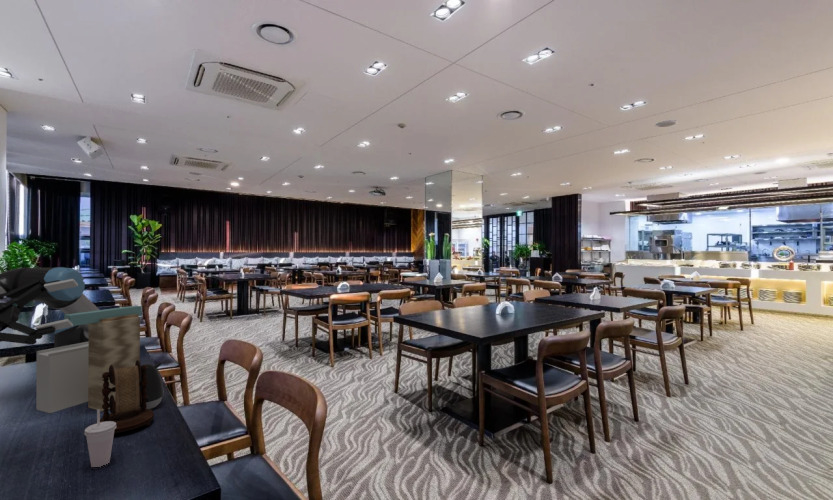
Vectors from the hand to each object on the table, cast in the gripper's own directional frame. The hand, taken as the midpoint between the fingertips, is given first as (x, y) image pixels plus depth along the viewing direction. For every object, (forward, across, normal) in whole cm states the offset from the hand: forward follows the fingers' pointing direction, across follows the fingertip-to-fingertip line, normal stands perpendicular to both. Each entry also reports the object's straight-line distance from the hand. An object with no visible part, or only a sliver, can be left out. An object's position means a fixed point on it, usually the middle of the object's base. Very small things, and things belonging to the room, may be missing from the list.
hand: (73, 301), depth 106 cm
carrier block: (-23, 0, +54) cm, 59 cm away
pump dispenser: (+2, -14, +48) cm, 50 cm away
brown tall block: (-9, -6, +52) cm, 53 cm away
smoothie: (+1, -38, +20) cm, 43 cm away
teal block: (-5, +14, +30) cm, 34 cm away
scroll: (0, -23, +37) cm, 43 cm away
